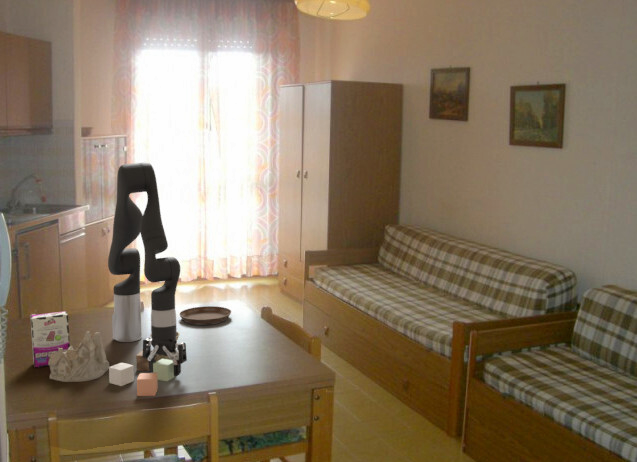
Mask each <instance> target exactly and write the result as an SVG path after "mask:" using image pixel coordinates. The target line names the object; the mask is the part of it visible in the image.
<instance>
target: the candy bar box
mask: <svg viewBox="0 0 637 462" xmlns="http://www.w3.org/2000/svg"><path fill="white" fill-rule="evenodd" d="M29 317H30V318H29V319H30V329H31V332H30V333H31V343H32V344H31V347H32V348H31V349H32V360H33V361H32V363H33V367H34V368H35V367H38V368H44V367H43V366H45V367H50V366H49V365H48V362H49V359H50V357H51V354H52V352H55V353H58V350H59V348H63V352H66V351H67V350H68V349H69V347H70V346H71V344H70V328H69V314H68V312H67V311H58V312H57V311H56V312H49V313H41V314H40V313H39V314H30V316H29Z"/></svg>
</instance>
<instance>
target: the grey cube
mask: <svg viewBox="0 0 637 462" xmlns="http://www.w3.org/2000/svg"><path fill="white" fill-rule="evenodd" d="M134 368H135V367H134V364H129V363H125V362H119V363H117V364H113V365H111V366H110V367H109V370H108V376H109V377H108V378H109V381H108V382H109V384H113V385H116V386H119V387H123V386H126V385H127V384H130V383H133V382H134V381H135V380H134V379H135V377H134V376H135V371H134V370H135V369H134Z"/></svg>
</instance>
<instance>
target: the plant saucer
mask: <svg viewBox="0 0 637 462" xmlns="http://www.w3.org/2000/svg"><path fill="white" fill-rule="evenodd" d="M231 314H232V310H231V309H229V308H226V307H224V306H223V307H222V306H213V305H212V306H207V305H206V306H197V307H190V308H187V309H184V310H181V311H180V312H179V316H180V318H181V319H182V321H184V323H187V324H190V325H194V326H211V325H212V326H213V325H216V324H220V323H223V322H225V321H226V320H227V319H228V318H229V317H230V315H231Z"/></svg>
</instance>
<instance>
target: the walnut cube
mask: <svg viewBox="0 0 637 462" xmlns="http://www.w3.org/2000/svg"><path fill="white" fill-rule="evenodd" d="M151 352H152V350H151ZM135 356H136V358H135V359H136V361H135V363H136V371H144V372H150V370H149V361H148V359H147V358H143V349H142V350H141V351H139V352H138V353H137V354H136V355H135ZM155 359H156V362H157V356H156V358H155Z"/></svg>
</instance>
